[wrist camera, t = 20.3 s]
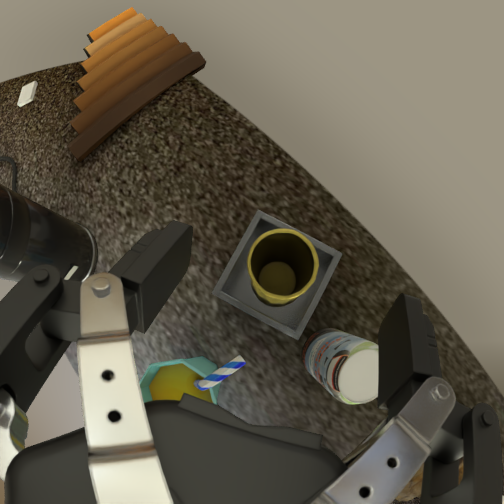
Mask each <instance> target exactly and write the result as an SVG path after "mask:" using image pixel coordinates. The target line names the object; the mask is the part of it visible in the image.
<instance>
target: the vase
mask: <svg viewBox="0 0 504 504" xmlns="http://www.w3.org/2000/svg"><path fill="white" fill-rule="evenodd" d="M318 267H319V260H318V255H317V253H316V251H315V248H314V246H313V244H312V243H311V242H310V241H309V239H308V238H306V237H305V236H304V235H303V234H301V233H300V232H298V231H295V230H292V229H285V228H280V229H274V230H271V231H268V232H266V233H264V234H262V235H261V236H260V237H259V238H258V239H257V240H256V241H255V242H254V243H253V245H252V246H251V249H250V251H249V254H248V257H247V268H248V274H249V276H250V279H251V287H252V290H253V292H254V294H255V295H256V297H257V298H258V299H259V300H260V301H261V302H262V303H264V304H266V305H268V306H271V307H283V306H286V305H288V304H291V303H293V302H294V301H295V300H296V299H297V298H298V297H299V296H300V295H302V294H304V293H305V292H306V291H307V290H308V288H309V287H310V286H311V285H312V284H313V283H314V281H315V279H316V275H317V271H318Z"/></svg>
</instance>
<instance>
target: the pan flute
mask: <svg viewBox="0 0 504 504" xmlns="http://www.w3.org/2000/svg"><path fill="white" fill-rule="evenodd" d="M87 36H88V38H89V40H90V42H91V44H90V45H88V46H87V47H85V48H84V49H83V50H84V51H85V53H86V54H87V56H88V59H87V60H85V61H84V62H83V63H81V64H80V66H81V68H82V69H83V71H84V72H85V74H86V75H84V76H83V77H82V78H80V79H79V80H78V81H77V84H78V85H79V87H80V88H81V90H82V91H83V93H82V94H81V95H79V96H78V97H77V98H76V99H75V100H73V102H74V103H75V105H76V106H77V108H78V109H79V110H80V111H81V113H80V114H79V115H77V116H76V117H75V118H74V119H73V120H72V121H70V123H71V125H72V126H73V127H74V129H75V130H76V131H77V132H78V134H79V135H78V136H77V137H76V138H75V139H74V140H73V141H71V142H70V143H69V144H68V145H67V147H68V149H69V150H70V151H71V153H72V154H73V155H74V156H75V158H76V159H77V160H78V161H79V162H81V161H83V160H84V159H85V158H86V157H87V156H88V155H89V154H90V153H91V152H92V151H93V150H94V149H96V148H97V147H98V146H99V145H100V144H101V143H102V142H103V141H104V140H105V139H107V138H108V137H109V136H110V135H111V134H112V133H113V132H114V131H116V130H117V129H118V128H119V127H120V126H121V125H123V124H124V123H125V122H126V121H127V120H129V119H130V118H131V117H132V116H134V115H135V114H136V113H137V112H138V111H140V110H141V109H142V108H143V107H145V106H146V105H147V104H149V103H150V102H151V101H152V100H154V99H155V98H156V97H158V96H159V95H160V94H162V93H163V92H164V91H166V90H167V89H168V88H170V87H171V86H173V85H174V84H175V83H177V82H178V81H180V80H181V79H182V78H184V77H185V76H187V75H188V74H191V75H192V76H193V75H194V74H196V73H197V72H199V71H200V70H202V69H203V68H204V67H205V65H206V61H205V59H204V58H203V57H202V55H201V54H200V52H192V50H191V49H190V48H189V46H188V45H187V43H186V42H183V43H180V42H179V41H178V40H177V38H176V37H175V35H174V34H169V35H168V34H167V33H166V31H165V30H164V28H163V27H162V26H159V27H157V26H156V25H155V24H154V22H153V21H152V19H150V20H146V18H145V17H144V16H143V14H142V13H140V14H137V13H136V11H135V10H134V9H133V8H132V7H131V8H130V9H128V10H126V11H124V12H123V13H121V14H119V15H118V16H116V17H114V18H113V19H111V20H109V21H108V22H106V23H104V24H103V25H101V26H100V27H98V28H97V29H95V30H94V31H92V32H91V33H89V34H88V35H87Z"/></svg>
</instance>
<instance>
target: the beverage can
mask: <svg viewBox="0 0 504 504" xmlns="http://www.w3.org/2000/svg"><path fill="white" fill-rule="evenodd" d="M302 361H303V364H304V367H305V368H306V370H307V371H308V372H309V373H310V374H311V375H312V376H313V377H314V378H315V379H316V380H317V381H318V382H319V383H320V384H321V385H322V386H323V387H324V388H325V389H326V390H327V391H328V392H329V393H330V394H331V395H332V396H334V397H335V398H336V399H337V400H339V401H341V402H342V403H346V404H361V403H366V402H369V401H372V400H373V399H375V398H376V397H378V345H377V344H375V343H373V342H371V341H368V340H365V339H362V338H359V337H357V336H354V335H351V334H348V333H346V332H343V331H340V330H337V329H334V328H325V329H321V330H318V331H317V332H315V333H313V334H312V335H311V336H310V337H309V338H308V339H307V341H306V343H305V345H304V347H303V351H302Z"/></svg>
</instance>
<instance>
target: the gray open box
mask: <svg viewBox="0 0 504 504" xmlns="http://www.w3.org/2000/svg"><path fill="white" fill-rule="evenodd" d="M280 228H285V229H292V230H295V231H298V232H300V233H301V234H303V235H304V236H305V237H306V238H308V239H309V241H310V242H311V243H312V244H313V246H314V248H315V251H316V253H317V255H318V260H319V267H318V271H317V275H316V279H315V281H314V283H313V284H312V285H311V286H310V287H309V288H308V290H307V291H306V292H305V293H304V294H302V295H300V296H299V297H298V298H297V299H296V300H295V301H294V302H293V303H291V304H288V305H286V306H283V307H271V306H268V305H266V304H264V303H262V302H261V301H260V300H259V299H258V298H257V297H256V295H255V294H254V292H253V290H252V287H251V279H250V276H249V274H248V268H247V257H248V254H249V251H250V249H251V246H252V245H253V243H254V242H255V241H256V240H257V239H258V238H259V237H260V236H261V235H262V234H264V233H266V232H268V231H271V230H274V229H280ZM341 256H342V253H341V252H339V251H336V250H335V249H333V248H331V247H329V246H327V245H326V244H324V243H322V242H320V241H318V240H316V239H314V238H312V237H310V236H308V235H307V234H305V233H303V232H301V231H299V230H297V229H295V228H293V227H291V226H289V225H287V224H285V223H283V222H281V221H279V220H277V219H275V218H273V217H272V216H270V215H268V214H266V213H264V212H262V211H260V210H257V212H256V214H255V216H254V218H253V219H252V221H251V223H250V225H249V226H248V228H247V230H246V232H245V234H244V235H243V237H242V239H241V241H240V243H239V244H238V246H237V248H236V250H235V252H234V253H233V255H232V257H231V259H230V261H229V262H228V264H227V266H226V268H225V270H224V271H223V273H222V275H221V277H220V279H219V280H218V282H217V284H216V286H215V288H214V289H213V291H212V294H213V295H215V296H217V297H218V298H220V299H222V300H224V301H226V302H227V303H229V304H231V305H233V306H235V307H236V308H238V309H240V310H242V311H244V312H246V313H247V314H249V315H251V316H253V317H255V318H257V319H259V320H260V321H262V322H264V323H266V324H268V325H270V326H272V327H274V328H276V329H277V330H279V331H281V332H283V333H285V334H287V335H289V336H291V337H293V338H295V339H297V340H299V338H300V336H301V334H302V332H303V331H304V329H305V327H306V325H307V323H308V321H309V319H310V317H311V316H312V314H313V312H314V310H315V308H316V306H317V304H318V302H319V300H320V298H321V296H322V294H323V292H324V290H325V288H326V286H327V284H328V282H329V280H330V278H331V276H332V274H333V272H334V270H335V268H336V266H337V264H338V262H339V260H340V258H341Z"/></svg>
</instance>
